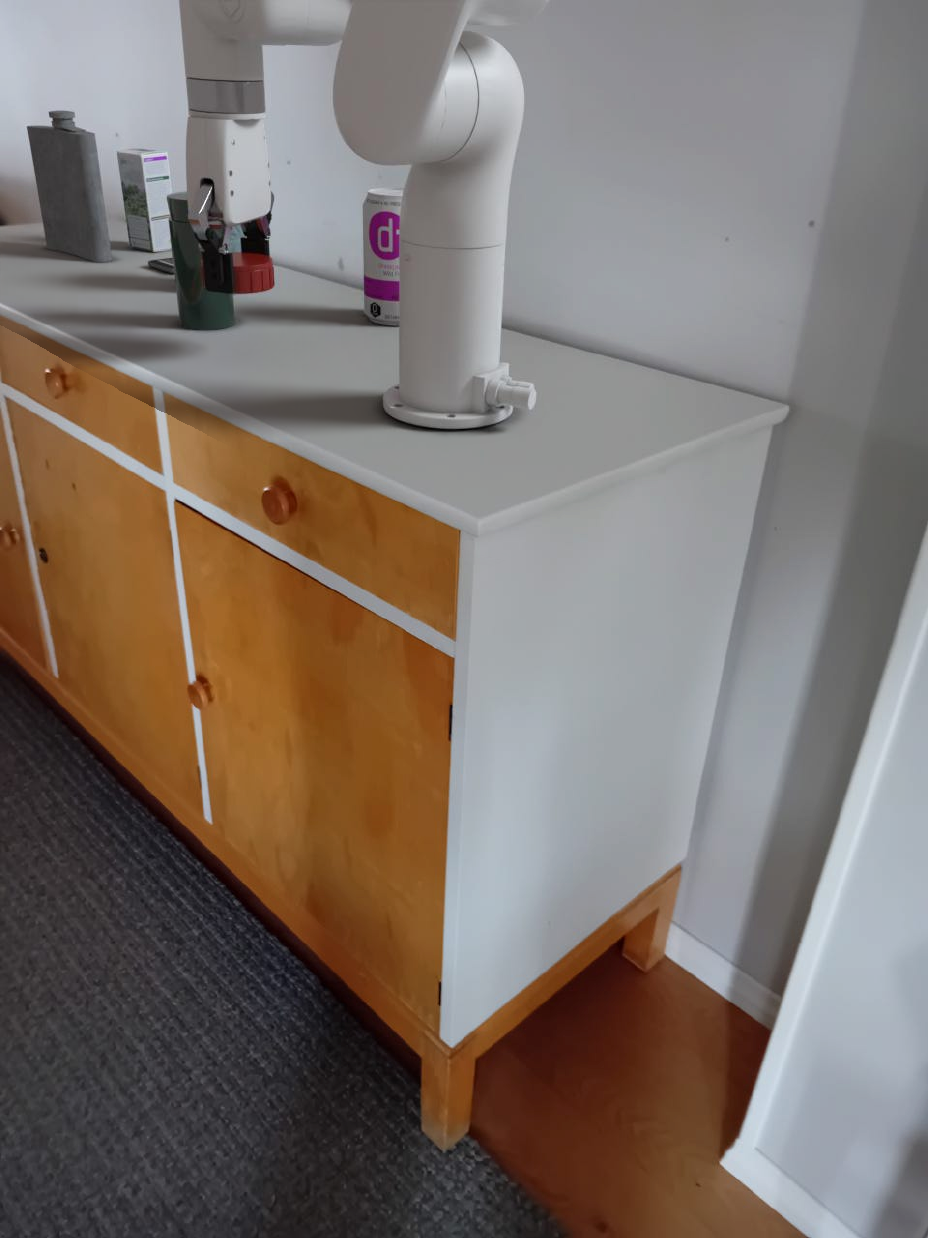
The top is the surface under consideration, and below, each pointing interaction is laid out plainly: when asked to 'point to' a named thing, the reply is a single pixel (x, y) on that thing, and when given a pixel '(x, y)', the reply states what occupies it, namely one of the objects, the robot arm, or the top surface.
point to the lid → (251, 272)
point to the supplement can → (382, 254)
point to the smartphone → (162, 264)
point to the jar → (194, 275)
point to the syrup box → (146, 197)
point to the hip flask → (70, 188)
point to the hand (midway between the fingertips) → (239, 282)
